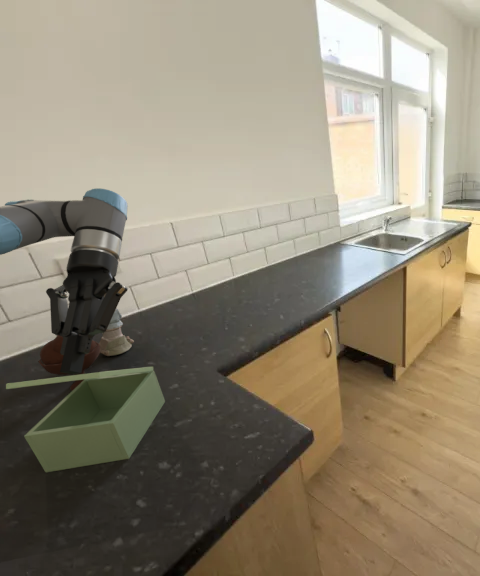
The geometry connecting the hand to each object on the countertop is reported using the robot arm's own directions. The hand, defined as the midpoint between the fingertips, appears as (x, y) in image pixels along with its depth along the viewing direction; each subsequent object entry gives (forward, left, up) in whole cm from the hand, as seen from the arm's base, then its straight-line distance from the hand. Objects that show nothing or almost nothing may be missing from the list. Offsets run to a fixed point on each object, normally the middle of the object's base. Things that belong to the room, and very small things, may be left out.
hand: (70, 372), depth 57 cm
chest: (-1, +3, -17) cm, 17 cm away
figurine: (-25, +35, -17) cm, 46 cm away
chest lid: (-1, +3, -4) cm, 5 cm away
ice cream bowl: (-21, +19, -17) cm, 33 cm away
